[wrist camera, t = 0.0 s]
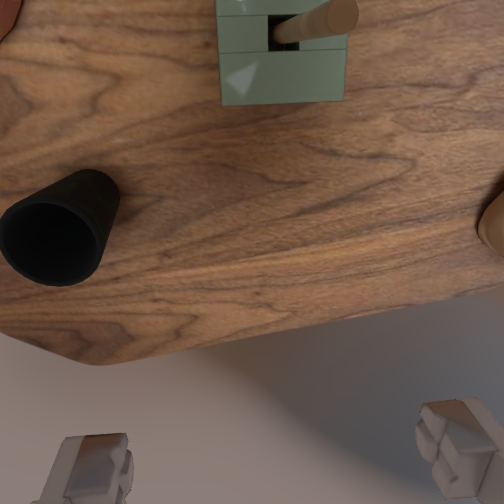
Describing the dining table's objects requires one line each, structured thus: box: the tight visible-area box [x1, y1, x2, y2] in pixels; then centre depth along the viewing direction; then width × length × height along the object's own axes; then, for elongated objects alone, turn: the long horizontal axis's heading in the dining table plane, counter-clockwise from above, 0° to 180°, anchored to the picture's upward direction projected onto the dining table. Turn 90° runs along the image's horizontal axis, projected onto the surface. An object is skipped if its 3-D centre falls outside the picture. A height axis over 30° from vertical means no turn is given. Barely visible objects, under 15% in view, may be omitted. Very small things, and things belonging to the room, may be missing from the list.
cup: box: [0, 169, 120, 287], centre depth 35 cm, size 8×8×12 cm
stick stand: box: [214, 0, 348, 106], centre depth 32 cm, size 10×10×7 cm
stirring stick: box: [268, 0, 359, 46], centre depth 26 cm, size 1×1×22 cm
